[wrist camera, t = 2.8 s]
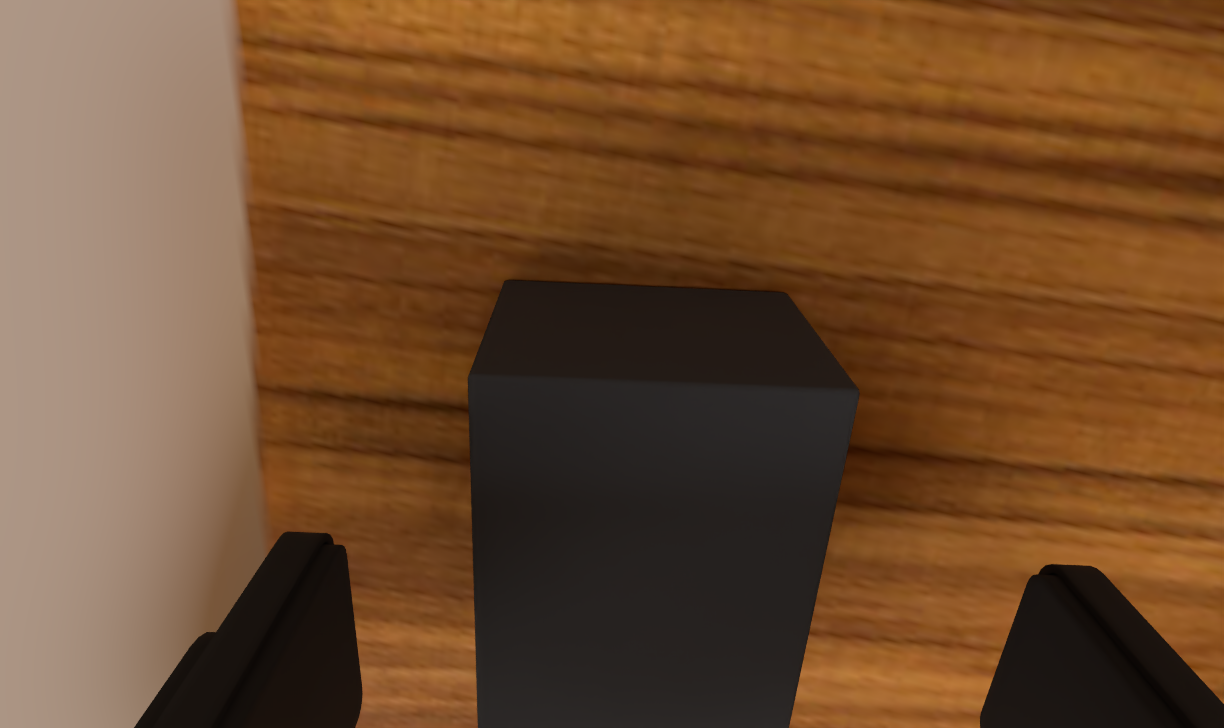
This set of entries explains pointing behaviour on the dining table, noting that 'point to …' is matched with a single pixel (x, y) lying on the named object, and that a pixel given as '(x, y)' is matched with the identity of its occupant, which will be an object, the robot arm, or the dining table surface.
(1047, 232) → the dining table surface
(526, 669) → the black block
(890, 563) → the dining table surface
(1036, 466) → the dining table surface
